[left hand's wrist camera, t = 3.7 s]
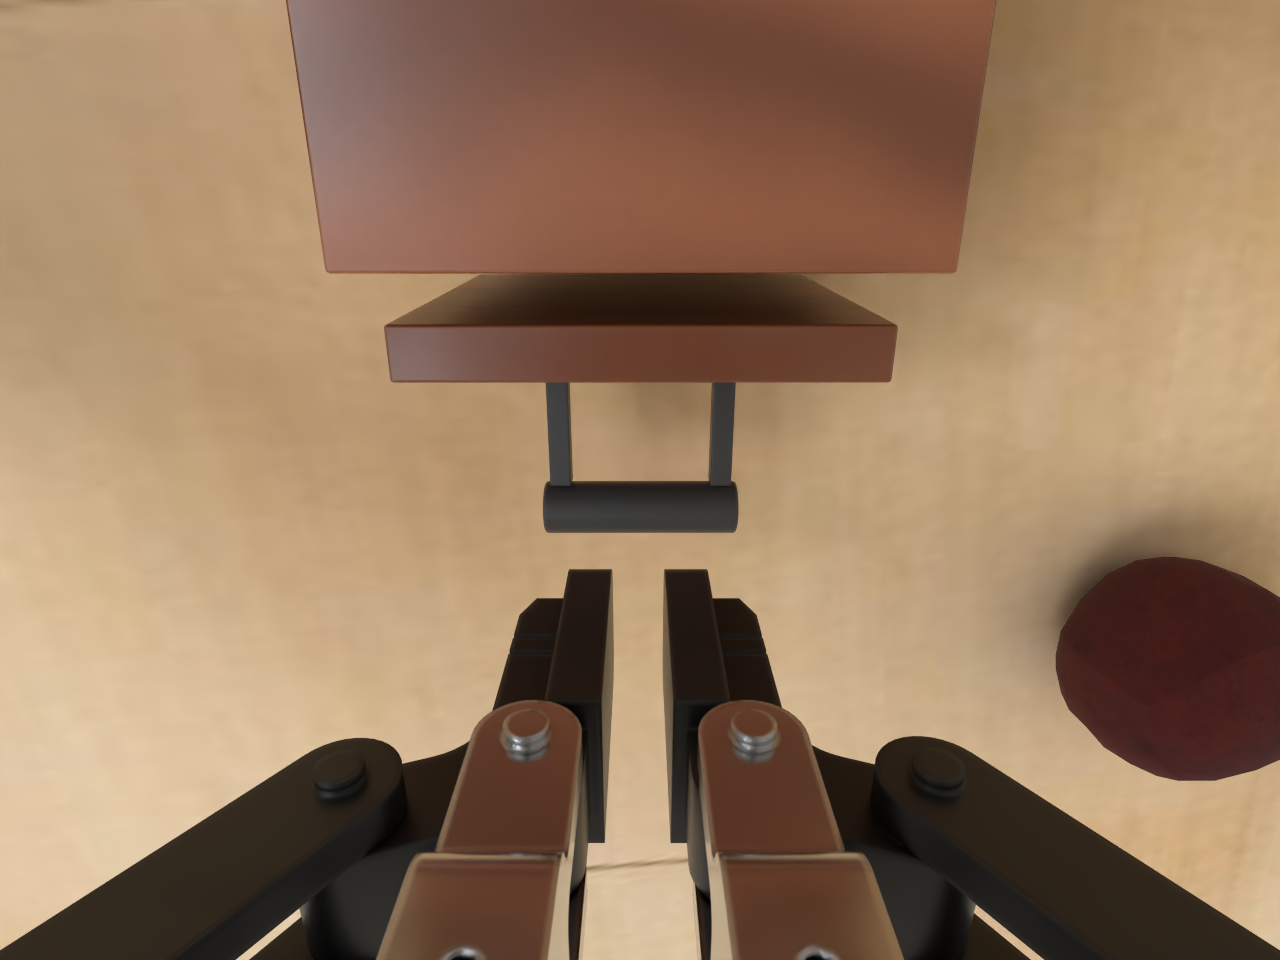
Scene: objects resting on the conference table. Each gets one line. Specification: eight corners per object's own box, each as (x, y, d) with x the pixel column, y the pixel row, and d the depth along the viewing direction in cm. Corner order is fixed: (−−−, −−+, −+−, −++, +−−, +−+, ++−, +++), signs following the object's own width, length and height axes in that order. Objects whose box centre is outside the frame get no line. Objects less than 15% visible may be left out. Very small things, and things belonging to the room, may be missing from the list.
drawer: (787, 476, 27) (862, 623, 18) (493, 476, 27) (419, 623, 18) (845, -297, 19) (1030, -735, 10) (435, -297, 19) (252, -734, 10)
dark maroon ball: (1246, 634, 30) (1417, 759, 23) (1062, 721, 31) (1174, 861, 25) (1186, 490, 28) (1356, 584, 21) (990, 592, 29) (1092, 708, 23)
